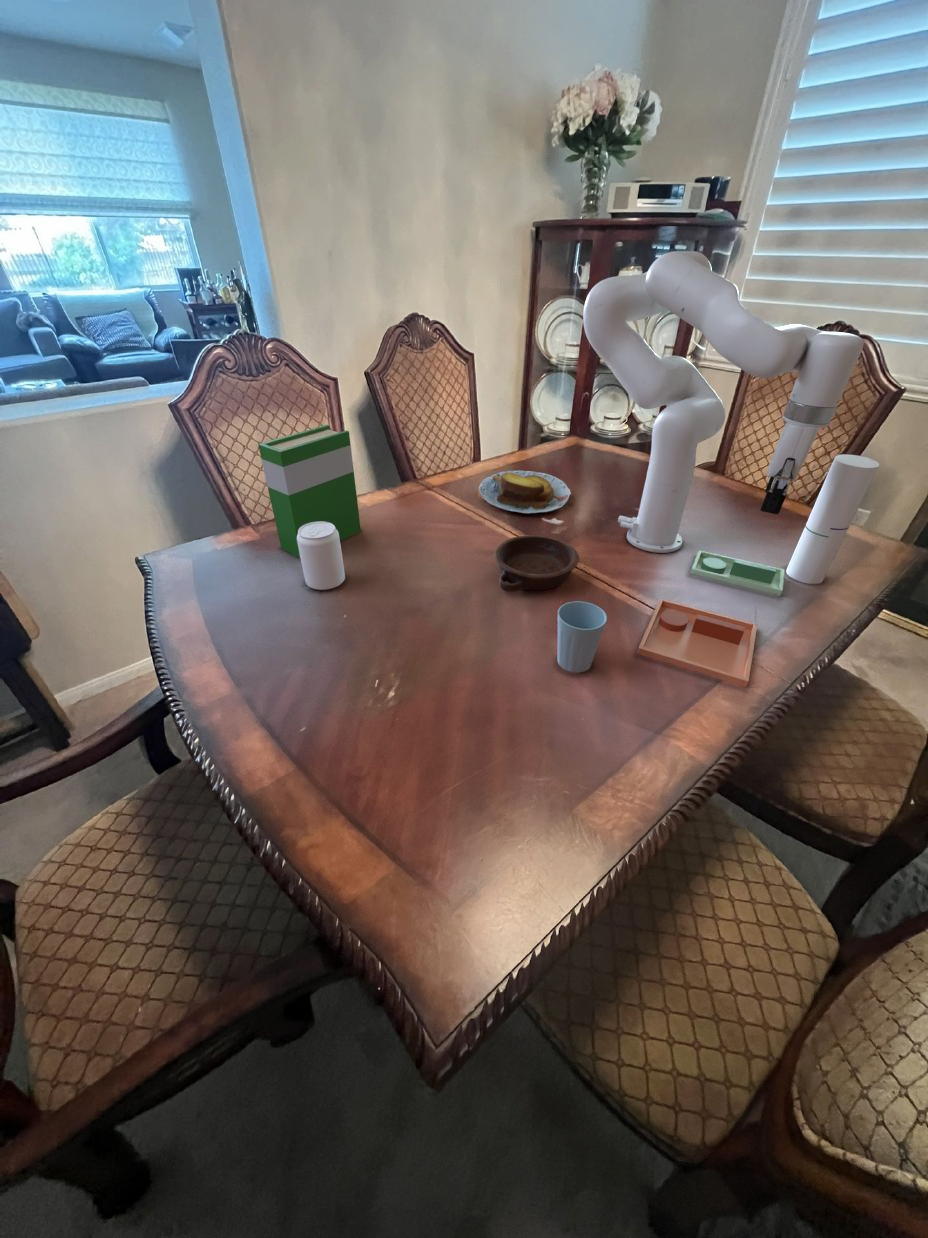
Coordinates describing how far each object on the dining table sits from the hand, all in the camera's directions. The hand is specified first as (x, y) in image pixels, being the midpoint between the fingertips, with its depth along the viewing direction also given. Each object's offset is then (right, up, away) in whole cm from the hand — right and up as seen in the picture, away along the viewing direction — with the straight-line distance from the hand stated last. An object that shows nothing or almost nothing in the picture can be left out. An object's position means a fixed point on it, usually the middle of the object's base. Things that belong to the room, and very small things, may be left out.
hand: (771, 502), depth 103 cm
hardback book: (-94, -4, +22) cm, 96 cm away
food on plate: (-44, +10, +42) cm, 62 cm away
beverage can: (-89, -15, +7) cm, 91 cm away
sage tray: (-2, -14, +10) cm, 17 cm away
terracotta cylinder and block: (-17, -25, -7) cm, 31 cm away
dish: (-45, -13, +10) cm, 48 cm away
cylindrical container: (+13, -13, +10) cm, 21 cm away
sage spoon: (-1, -13, +9) cm, 16 cm away
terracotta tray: (-19, -27, -9) cm, 34 cm away
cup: (-42, -31, -14) cm, 53 cm away
